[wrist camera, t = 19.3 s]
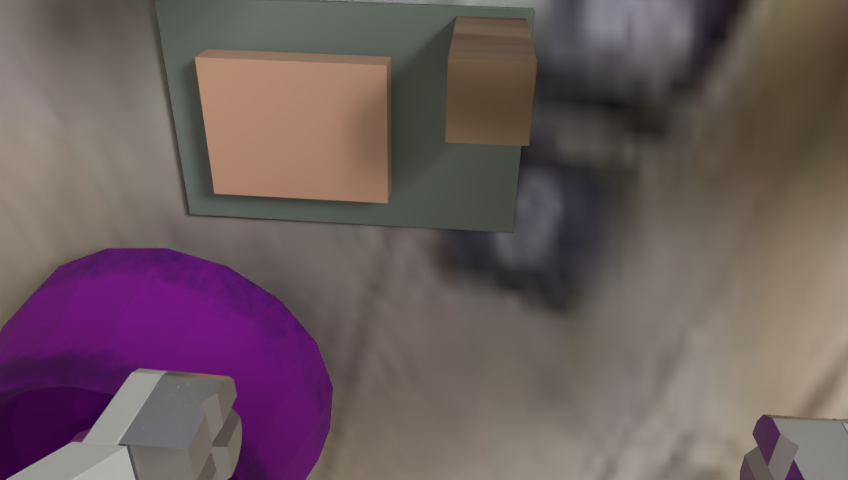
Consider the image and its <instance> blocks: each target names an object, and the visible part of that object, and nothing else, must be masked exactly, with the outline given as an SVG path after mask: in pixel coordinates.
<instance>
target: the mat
mask: <svg viewBox="0 0 848 480" xmlns="http://www.w3.org/2000/svg"><path fill="white" fill-rule="evenodd" d="M154 2H155V8H156V14H157V20H158V26H159V32H160V38H161V44H162V50H163V56H164V62H165V68H166V74H167V80H168V86H169V92H170V98H171V104H172V110H173V116H174V122H175V128H176V134H177V140H178V146H179V152H180V158H181V164H182V170H183V176H184V182H185V188H186V194H187V200H188V206H189V212H190V214H195V215H212V216H229V217H247V218H264V219H282V220H299V221H316V222H334V223H351V224H369V225H386V226H403V227H421V228H438V229H456V230H473V231H491V232H508V233H513V226H514V216H515V206H516V195H517V185H518V175H519V164H520V154H521V146H518V145H495V144H472V143H449V142H445V134H446V103H447V72H448V56H449V51H450V46H451V41H452V37H453V32H454V27H455V22H456V17H457V16H472V17H503V18H526V20H527V24H528V28H529V32H530V35H531V39H532V31H533V20H534V8H512V7H485V6H457V5H430V4H403V3H375V2H348V1H321V0H154ZM207 49H217V50H241V51H265V52H289V53H313V54H337V55H361V56H385V57H391V185H392V190H391V193H390V197H389V200H388V203H375V202H357V201H338V200H320V199H302V198H284V197H266V196H248V195H230V194H214V187H213V180H212V173H211V166H210V159H209V152H208V146H207V139H206V132H205V125H204V118H203V111H202V104H201V97H200V90H199V83H198V76H197V69H196V63H195V57H196V56H197V55H199V54H200V53H202V52H204V51H205V50H207Z"/></svg>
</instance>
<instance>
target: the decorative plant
mask: <svg viewBox="0 0 848 480" xmlns="http://www.w3.org/2000/svg"><path fill="white" fill-rule="evenodd" d="M139 368H141V369H151V370H161V371H179V372H189V373H200V374H210V375H221V376H229V377H231V378H232V379H234V383H235V388H236V393H237V397H236V399H235V401H234V403H233V405H232V409H233V410H234V411H235V412H236V413H237V414H238V415H239V416H240V418H241V425H242V443H241V448H240V453H239V458H238V462H237V465H236V467H235V470H234V472H233V475H232V477H230V478H229V479H228V480H306V478H307V476H308V475H309V473H310V472H311V470H312V469H313V467H314V465H315V464H316V462H317V461H318V459H319V456H320V454H321V451H322V448H323V445H324V443H325V440H326V437H327V434H328V432H329V429H330V419H331V405H332V391H333V386H332V384H331V381H330V378H329V376H328V373H327V370H326V367H325V365H324V362H323V359H322V357H321V354H320V351H319V348H318V346H317V343H316V342H315V340H314V339H313V338H312V337H311V336H310V335H309V333H308V332H307V331H306V330H305V329H304V328H303V326H302V325H301V324H300V323H299V322H298V321H297V320H296V318H295V317H294V316H293V315H292V314H291V313H290V311H289V310H288V309H287V308H286V307H285V306H284V304H283V303H282V302H281V301H280V300H279V299H277V298H276V297H274V296H273V295H271V294H269V293H268V292H266V291H265V290H263V289H262V288H260V287H259V286H257V285H255V284H254V283H252V282H251V281H249V280H248V279H246V278H244V277H243V276H241V275H240V274H238V273H237V272H235V271H234V270H232V269H230V268H229V267H227V266H224V265H220V264H217V263H214V262H210V261H207V260H204V259H200V258H197V257H194V256H190V255H187V254H184V253H180V252H177V251H174V250H170V249H167V248H123V249H105V250H102V251H100V252H97V253H94V254H92V255H89V256H86V257H84V258H81V259H78V260H76V261H73V262H70V263H68V264H65V265H62V266H60V267H58V269H57V270H56V271H55V272H54V273H53V274H52V275H51V276H50V277H49V278H48V279H47V280H46V281H45V282H44V283H43V284H42V285H41V286H40V288H39V289H38V290H37V291H36V292H35V293H34V294H33V295H32V296H31V297H30V298H29V299H28V300H27V301H26V302H25V304H24V305H23V306H22V307H21V308H20V309H19V310H18V311H17V312H16V313H15V314H14V315H13V317H12V318H11V319H10V320H9V321H8V322H7V323H6V324H5V325H4V326H3V328H2V330H1V332H0V480H6V479H8V478H9V477H11V476H13V475H15V474H16V473H18V472H20V471H22V470H23V469H25V468H27V467H29V466H30V465H32V464H34V463H36V462H38V461H39V460H41V459H43V458H45V457H46V456H48V455H50V454H52V453H53V452H55V451H57V450H59V449H60V448H62V447H64V446H66V445H67V444H69V443H71V442H82V441H83V440H84V438H85V437H86V435H87V434H88V433H89V431H90V430H91V428H92V427H93V426H94V424H95V423H96V421H97V420H98V419H99V417H100V416H101V414H102V413H103V412H104V410H105V409H106V407H107V406H108V405H109V403H110V402H111V400H112V399H113V397H114V396H115V395H116V393H117V392H118V390H119V389H120V388H121V386H122V385H123V383H124V382H125V381H126V379H127V378H128V376H129V375H130V374H131V373H132V372H134V371H136V370H137V369H139Z"/></svg>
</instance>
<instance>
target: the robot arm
mask: <svg viewBox="0 0 848 480" xmlns="http://www.w3.org/2000/svg"><path fill="white" fill-rule="evenodd" d="M236 397H237V393H236V388H235V383H234V379H232V378H231V377H229V376H221V375H210V374H200V373H189V372H179V371H161V370H151V369H141V368H139V369H137V370H136V371H134V372H132V373H131V374H130V375H129V376H128V378H127V379H126V381H125V382H124V383H123V385H122V386H121V388H120V389H119V390H118V392H117V393H116V395H115V396H114V397H113V399H112V400H111V402H110V403H109V405H108V406H107V407H106V409H105V410H104V412H103V413H102V414H101V416H100V417H99V419H98V420H97V421H96V423H95V424H94V426H93V427H92V428H91V430H90V431H89V433H88V434H87V435H86V437H85V438H84V440H83V441H82V442H71V443H69V444H67V445H66V446H64V447H62V448H60V449H59V450H57V451H55V452H53V453H52V454H50V455H48V456H46V457H45V458H43V459H41V460H39V461H38V462H36V463H34V464H32V465H30V466H29V467H27V468H25V469H23V470H22V471H20V472H18V473H16V474H15V475H13V476H11V477H9V478H8V479H6V480H228V479H229V478H230V477H232V475H233V472H234V470H235V467H236V465H237V462H238V458H239V453H240V448H241V443H242V425H241V418H240V416H239V415H238V414H237V413H236V412H235V411H234V410H233V409H232V405H233V403H234V401H235V399H236ZM752 434H753V436H754V438H755V440H756V442H757V445H758V446H757V447H756V448H754V449H753V450H751V451H750V452H748V453H747V454H746V455H745V456H744V460H743V463H742V466H741V470H740V480H848V419H825V418H810V417H794V416H779V415H762V416H761V418H760V419H759V420H758V421H757V423H756V425H755V428H754V431H753V433H752Z"/></svg>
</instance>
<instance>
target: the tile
mask: <svg viewBox="0 0 848 480" xmlns="http://www.w3.org/2000/svg"><path fill="white" fill-rule="evenodd" d="M195 63H196V69H197V76H198V83H199V90H200V97H201V104H202V111H203V118H204V125H205V132H206V139H207V146H208V152H209V159H210V166H211V173H212V180H213V187H214V194H230V195H248V196H266V197H284V198H302V199H320V200H338V201H357V202H375V203H388V200H389V197H390V193H391V190H392V185H391V57H385V56H361V55H337V54H313V53H289V52H265V51H241V50H217V49H207V50H205V51H204V52H202V53H200V54H199V55H197V56H196V57H195Z"/></svg>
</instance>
